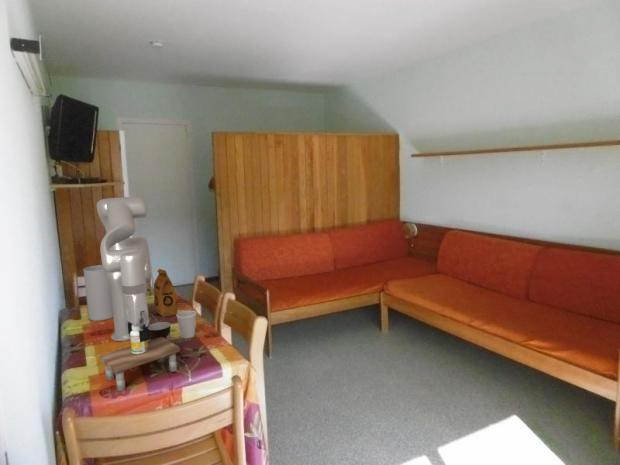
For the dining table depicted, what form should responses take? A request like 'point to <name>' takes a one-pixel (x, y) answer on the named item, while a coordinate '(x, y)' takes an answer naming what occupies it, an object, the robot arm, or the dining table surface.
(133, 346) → the supplement bottle
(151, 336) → the coffee mug
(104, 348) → the dining table surface
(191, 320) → the dixie cup
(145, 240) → the robot arm
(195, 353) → the dining table surface
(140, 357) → the small wooden riser
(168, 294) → the coffee package
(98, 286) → the cylinder vase
